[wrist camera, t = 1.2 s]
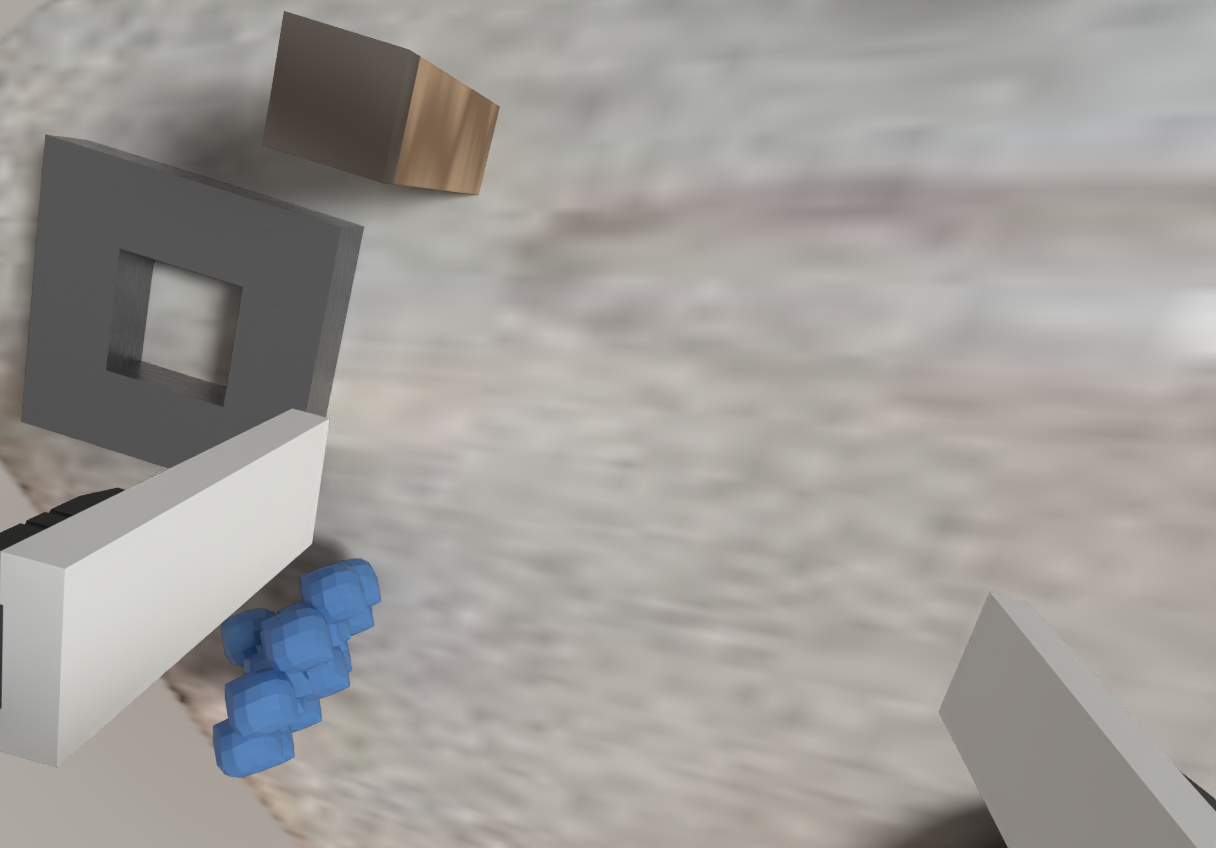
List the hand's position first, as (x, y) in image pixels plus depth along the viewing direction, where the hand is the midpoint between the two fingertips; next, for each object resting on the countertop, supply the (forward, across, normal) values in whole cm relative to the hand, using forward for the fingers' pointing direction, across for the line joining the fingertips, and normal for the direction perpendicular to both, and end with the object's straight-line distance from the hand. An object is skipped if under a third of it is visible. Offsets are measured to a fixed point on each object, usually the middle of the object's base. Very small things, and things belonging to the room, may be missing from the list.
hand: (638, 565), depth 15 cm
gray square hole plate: (+23, -23, -4) cm, 33 cm away
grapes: (+23, -14, -17) cm, 32 cm away
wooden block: (+23, -12, +7) cm, 27 cm away
